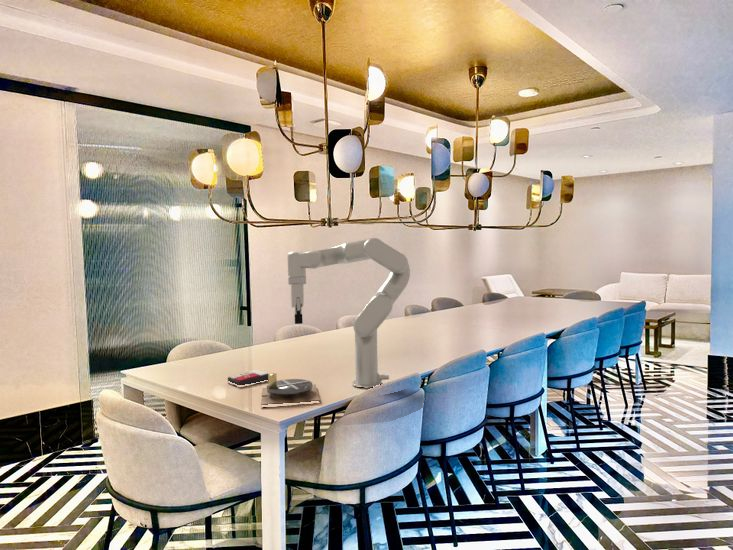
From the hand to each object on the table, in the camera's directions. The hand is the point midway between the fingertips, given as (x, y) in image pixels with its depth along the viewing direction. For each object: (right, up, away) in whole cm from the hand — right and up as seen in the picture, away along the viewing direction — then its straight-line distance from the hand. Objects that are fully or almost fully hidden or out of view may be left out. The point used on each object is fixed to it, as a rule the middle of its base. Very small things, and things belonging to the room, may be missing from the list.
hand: (298, 323), depth 217 cm
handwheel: (-2, -26, -15) cm, 30 cm away
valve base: (-1, -28, -15) cm, 32 cm away
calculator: (-24, -28, +10) cm, 38 cm away
